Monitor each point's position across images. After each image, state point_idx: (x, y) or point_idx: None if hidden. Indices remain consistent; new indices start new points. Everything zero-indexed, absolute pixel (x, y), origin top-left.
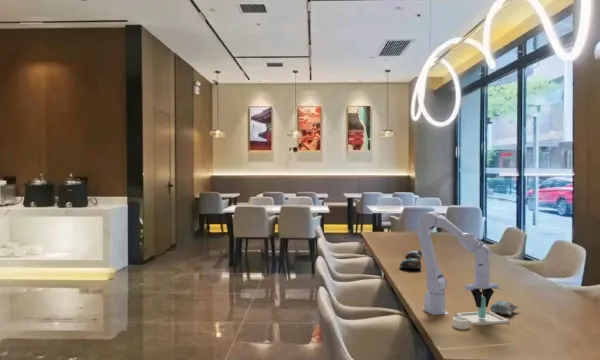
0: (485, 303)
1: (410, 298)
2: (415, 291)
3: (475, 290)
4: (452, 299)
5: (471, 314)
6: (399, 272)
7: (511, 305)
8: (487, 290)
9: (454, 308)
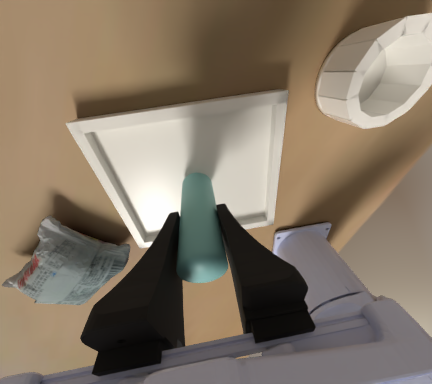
0: (184, 223)
1: None
2: None
3: (298, 313)
4: (197, 315)
5: None
6: None
7: (25, 275)
8: (159, 331)
9: (226, 272)
